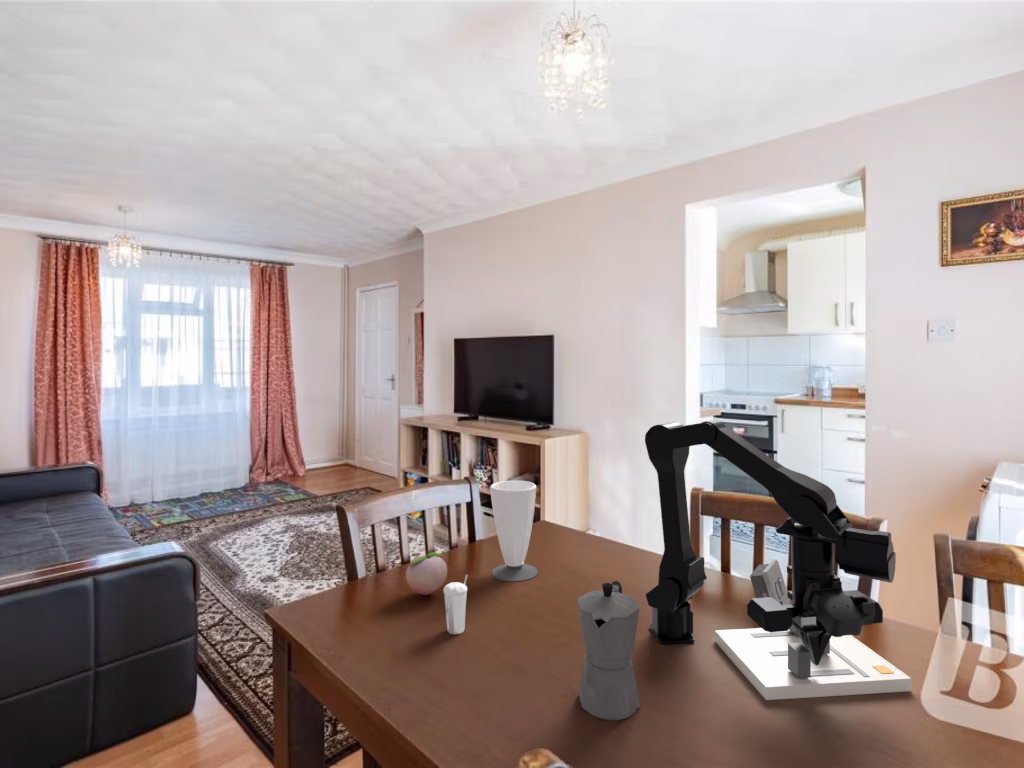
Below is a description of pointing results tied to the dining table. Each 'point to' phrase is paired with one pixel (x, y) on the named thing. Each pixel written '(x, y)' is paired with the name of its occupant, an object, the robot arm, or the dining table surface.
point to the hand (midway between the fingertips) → (814, 663)
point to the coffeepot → (608, 653)
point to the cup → (513, 527)
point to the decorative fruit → (426, 573)
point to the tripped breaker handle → (799, 660)
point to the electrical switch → (770, 582)
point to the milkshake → (455, 606)
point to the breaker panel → (834, 676)
